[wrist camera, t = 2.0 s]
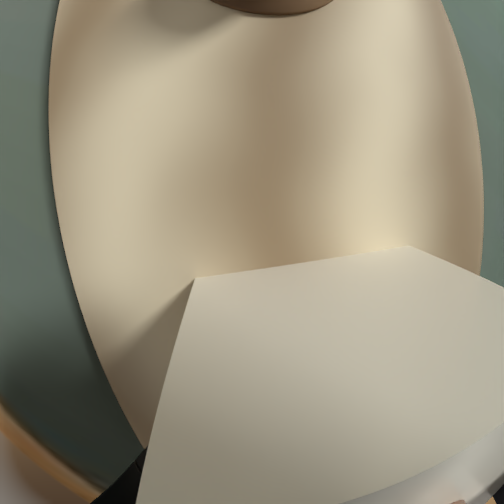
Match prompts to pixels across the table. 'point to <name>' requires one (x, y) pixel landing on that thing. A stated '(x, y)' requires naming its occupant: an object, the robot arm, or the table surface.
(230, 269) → the tan board
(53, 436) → the table surface
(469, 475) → the knobbed cube
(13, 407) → the table surface
